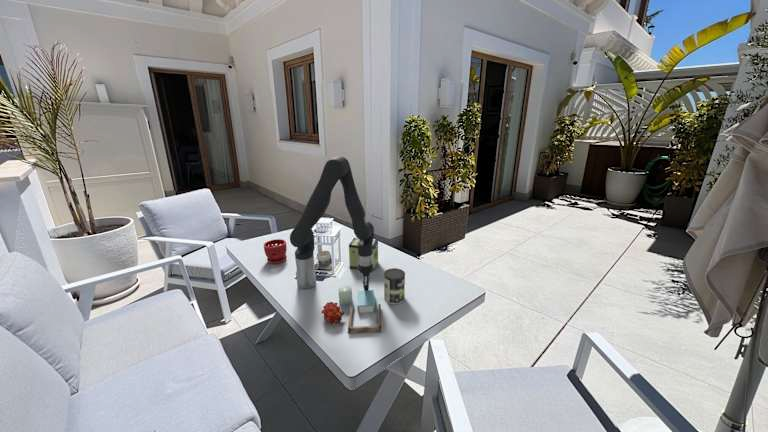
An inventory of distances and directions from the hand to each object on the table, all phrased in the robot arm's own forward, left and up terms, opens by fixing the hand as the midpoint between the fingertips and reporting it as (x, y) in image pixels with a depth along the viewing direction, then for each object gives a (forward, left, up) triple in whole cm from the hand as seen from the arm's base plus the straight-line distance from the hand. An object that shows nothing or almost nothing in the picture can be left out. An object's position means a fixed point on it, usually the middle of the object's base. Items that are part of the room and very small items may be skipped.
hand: (366, 292), depth 151 cm
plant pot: (-57, +40, -2) cm, 70 cm away
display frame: (0, -19, -2) cm, 19 cm away
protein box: (-2, +31, -2) cm, 31 cm away
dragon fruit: (-14, -18, -2) cm, 23 cm away
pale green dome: (-10, -5, -2) cm, 11 cm away
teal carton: (0, -8, -2) cm, 8 cm away
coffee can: (+14, -3, -2) cm, 14 cm away
